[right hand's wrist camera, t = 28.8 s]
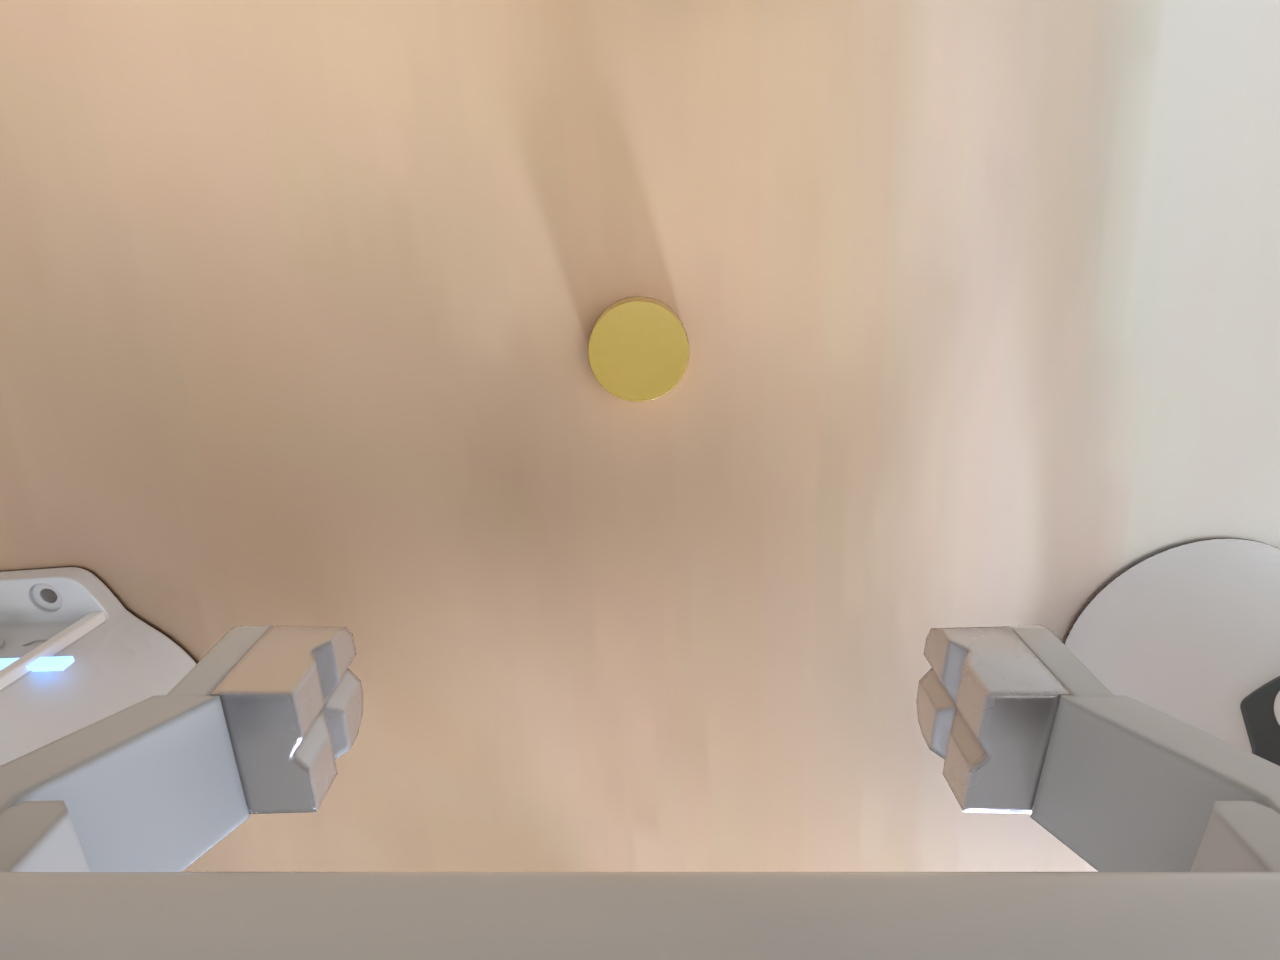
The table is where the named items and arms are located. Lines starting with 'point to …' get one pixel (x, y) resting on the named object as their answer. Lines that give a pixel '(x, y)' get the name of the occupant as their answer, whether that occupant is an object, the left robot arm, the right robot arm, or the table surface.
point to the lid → (638, 349)
